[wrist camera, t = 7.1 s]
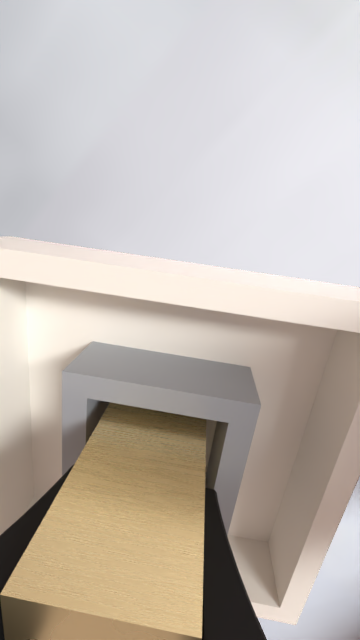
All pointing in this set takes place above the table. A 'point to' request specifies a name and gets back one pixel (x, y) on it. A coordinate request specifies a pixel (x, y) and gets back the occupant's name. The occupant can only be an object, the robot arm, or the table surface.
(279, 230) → the table surface
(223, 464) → the walled box
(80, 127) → the table surface
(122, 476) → the wooden plug
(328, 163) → the table surface
